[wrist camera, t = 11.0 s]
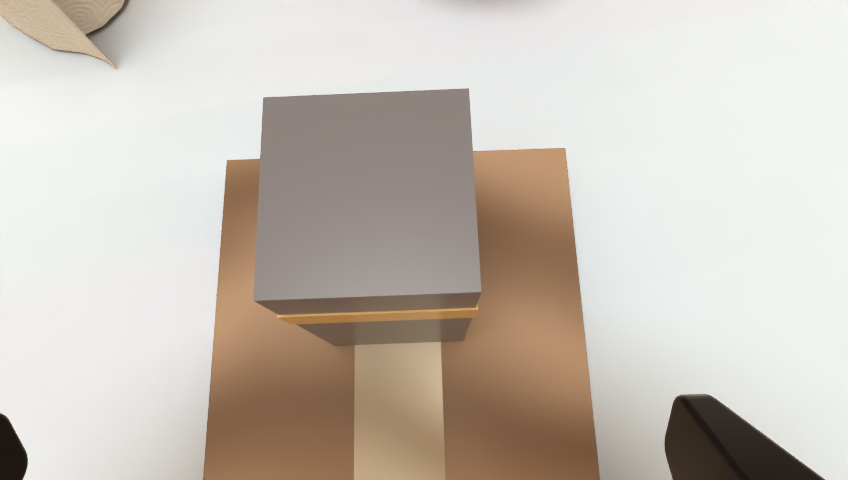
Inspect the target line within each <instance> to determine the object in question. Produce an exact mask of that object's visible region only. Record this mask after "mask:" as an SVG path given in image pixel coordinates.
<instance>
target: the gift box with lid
mask: <svg viewBox="0 0 848 480" xmlns="http://www.w3.org/2000/svg"><path fill="white" fill-rule="evenodd" d="M480 295H481V276H480V260H479V244H478V228H477V212H476V196H475V180H474V164H473V148H472V132H471V116H470V100H469V89H447V90H424V91H402V92H379V93H356V94H334V95H311V96H288V97H265V98H263V115H262V135H261V155H260V176H259V196H258V216H257V236H256V256H255V276H254V296H253V301H255V302H256V303H258V304H260V305H262V306H264V307H265V308H267V309H269V310H271V311H273V312H274V313H276V314H277V318H279V319H281V320H283V321H285V322H286V323H288V324H290V325H292V324H296V325H298V326H300V327H301V328H303V329H305V330H307V331H309V332H310V333H312V334H314V335H316V336H318V337H319V338H321V339H323V340H325V341H327V342H328V343H330V344H332V345H334V346H343V345H370V344H397V343H424V342H451V341H464V338H465V335H466V333H467V330H468V327H469V325H470V322H471V319H472V318H475V316H476V314H477V311H478V300H479V297H480Z"/></svg>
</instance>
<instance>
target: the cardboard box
mask: <svg viewBox="0 0 848 480" xmlns="http://www.w3.org/2000/svg"><path fill="white" fill-rule="evenodd" d="M473 164H474V180H475V196H476V212H477V228H478V244H479V260H480V276H481V295H480V297H479V300H478V311H477V314H476V316H475V318H472V319H471V322H470V325H469V327H468V330H467V333H466V335H465V338H464V341H451V342H424V343H397V344H370V345H343V346H334V345H332V344H330V343H328V342H327V341H325V340H323V339H321V338H319V337H318V336H316V335H314V334H312V333H310V332H309V331H307V330H305V329H303V328H301V327H300V326H298V325H296V324H292V325H290V324H288V323H286V322H285V321H283V320H281V319H279V318H277V314H276V313H274V312H273V311H271V310H269V309H267V308H265V307H264V306H262V305H260V304H258V303H256V302H255V301H253V296H254V276H255V256H256V236H257V216H258V196H259V176H260V159H248V160H227V167H226V180H225V193H224V207H223V220H222V234H221V247H220V261H219V274H218V288H217V301H216V314H215V328H214V341H213V355H212V368H211V382H210V395H209V408H208V422H207V435H206V449H205V462H204V476H203V480H600V477H599V467H598V458H597V448H596V439H595V429H594V420H593V410H592V400H591V391H590V381H589V372H588V362H587V352H586V343H585V333H584V324H583V314H582V305H581V295H580V285H579V276H578V266H577V257H576V247H575V238H574V228H573V218H572V209H571V199H570V190H569V180H568V170H567V161H566V151H565V148H551V149H524V150H496V151H473Z"/></svg>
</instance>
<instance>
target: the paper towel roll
mask: <svg viewBox="0 0 848 480" xmlns="http://www.w3.org/2000/svg"><path fill="white" fill-rule="evenodd" d="M124 1H125V0H0V15H1V16H2V17H3V18H4V19H5V20H6V21H7V22H9V23H10V24H12V25H13V26H15V27H16V28H18V29H19V30H21V31H22V32H24V33H25V34H27V35H29V36H31V37H32V38H34V39H36V40H38V41H40V42H41V43H43V44H45V45H46V46H48V47H50V48H51V49H56V50H65V51H73V52H82V53H86V54H89V55H92V56H95V57H98V58H100V59H103V60H105V61H106V62H107V63H109V64H110V65H111V66H113V67H115V66H114V65H113V64H112V62H111V61H110V60H109V59H108V58H107V57H106V56H105V55H104V54H103V53H102V52H101V51H100V50H99V49H98V48H97V47H96V46H95V45H94V44H93V43H92V42H91V41H90V40H89V39H88V38H87V36H86V34H88V33H90V32H92V31H94V30H96V29H98V28H100V27H102V26H104V25H105V24H106V23H107V22H108V21H109V20H110V19H111V18H112V17H113V16H114V15H115V14H116V13H117V12H118V11H119V10H120V9H121V8H122V6H123V4H124Z"/></svg>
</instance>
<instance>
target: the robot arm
mask: <svg viewBox="0 0 848 480" xmlns="http://www.w3.org/2000/svg"><path fill="white" fill-rule="evenodd" d="M665 452H666V457H667V461H668V464H669V468H670V471H671V474H672V478H673V480H825V479H823V478H822V477H821V476H819V475H818V474H817V473H815V472H814V471H813V470H811V469H810V468H809V467H807V466H806V465H805V464H803V463H802V462H801V461H799V460H798V459H796V458H795V457H794V456H792V455H791V454H790V453H788V452H787V451H786V450H784V449H783V448H782V447H780V446H779V445H778V444H776V443H775V442H774V441H772V440H771V439H769V438H768V437H767V436H765V435H764V434H763V433H761V432H760V431H759V430H757V429H756V428H755V427H753V426H752V425H751V424H749V423H748V422H747V421H745V420H744V419H742V418H741V417H740V416H738V415H737V414H736V413H734V412H733V411H732V410H730V409H729V408H728V407H726V406H725V405H724V404H722V403H721V402H719V401H718V400H717V399H715V398H714V397H712V396H710V395H707V394H688V395H679V396H677V397H676V399H675V400H674V402H673V406H672V410H671V414H670V419H669V423H668V427H667V431H666V436H665ZM27 465H28V458H27V453H26V451H25V449H24V447H23V445H22V443H21V441H20V439H19V438H18V436H17V434H16V432H15V430H14V428H13V426H12V424H11V423H10V421H9V419H8V418H7V417H6V416H5V415H3V414H1V413H0V480H23V477H24V475H25V473H26V469H27Z"/></svg>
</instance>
